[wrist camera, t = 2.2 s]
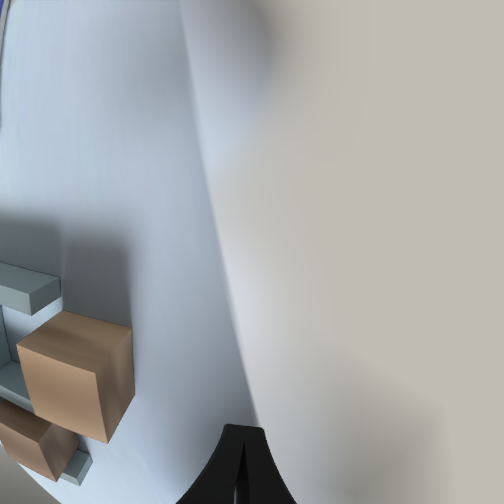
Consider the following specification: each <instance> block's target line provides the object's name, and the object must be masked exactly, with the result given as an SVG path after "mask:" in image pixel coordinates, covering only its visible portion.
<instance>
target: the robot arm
mask: <svg viewBox="0 0 504 504" xmlns="http://www.w3.org/2000/svg"><path fill="white" fill-rule="evenodd" d="M235 486H236V504H297V503H296V502H295V501H294V499H293V497H292V496H291V494H290V492H289V491H288V489H287V487H286V485H285V483H284V481H283V479H282V478H281V476H280V474H279V471H278V469H277V467H276V465H275V463H274V460H273V458H272V455H271V452H270V449H269V446H268V444H267V440H266V436H265V432H264V429H262V428H260V427H251V426H242V425H234V424H226V425H224V429H223V432H222V435H221V438H220V440H219V442H218V445H217V447H216V449H215V451H214V452H213V454H212V456H211V458H210V459H209V461H208V463H207V464H206V466H205V468H204V469H203V470H202V472H201V473H200V475H199V476H198V478H197V479H196V480H195V482H194V483H193V484H192V486H191V487H190V488H189V489H188V491H187V492H186V493H185V494H184V495H183V496H182V497H181V499H180V500H179V501H178V502H177V503H176V504H234V493H235Z"/></svg>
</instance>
